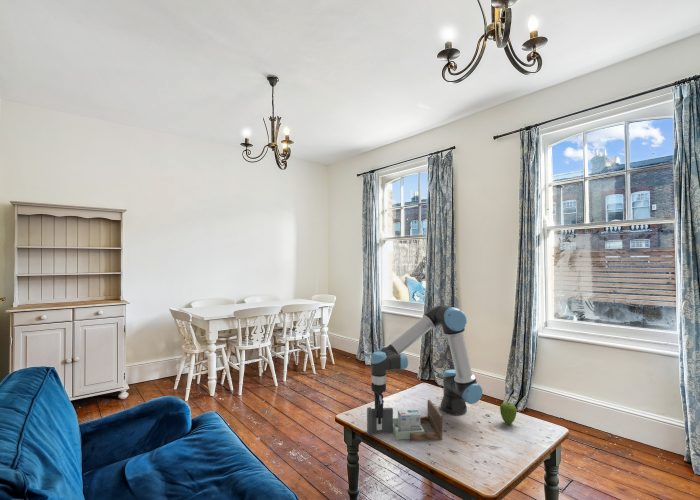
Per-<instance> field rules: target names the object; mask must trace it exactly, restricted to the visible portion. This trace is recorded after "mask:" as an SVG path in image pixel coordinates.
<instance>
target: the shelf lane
mask: <svg viewBox="0 0 700 500" xmlns="http://www.w3.org/2000/svg"><path fill="white" fill-rule="evenodd" d="M438 409H439V408H437V407H436V405H434V403H433V402H432V401H431V400H430V399H427V416H420V424H429V426H430V427H431V429H432V430H433V431H434V432H424V433H413V434H410V439H409V440H410V442H416V441H417V442H419V441H433V440H435V441H436V440H439V441H440V440H443V430H444V429H443V423H444V422H443V417H444V416H443V414H442V413H441V412H440V411H439V410H438Z"/></svg>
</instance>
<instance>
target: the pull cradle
mask: <svg viewBox="0 0 700 500" xmlns="http://www.w3.org/2000/svg"><path fill="white" fill-rule="evenodd" d="M376 416H377V408H375V407H374V408H372V407H369V406H368V407H366V432H367V435H368V436H373V434H390V433H391V434H393V436H394V438H395V440H397V441H398V440H410V434H413V433H425V429H424V428H423V426H422V424H420V431H401V432H399V431H398V429H397V428H396V426H398V417H394V408H393V407H383V418H382V430H377V418H376Z"/></svg>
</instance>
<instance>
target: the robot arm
mask: <svg viewBox="0 0 700 500" xmlns="http://www.w3.org/2000/svg"><path fill="white" fill-rule="evenodd" d="M467 321H468V320H467V316H466V313H464V311H463V310H461V309H459V308H457V307H453V306H448V305H445V304H440V305H439V304H438V305H436V306H434V307H433V308H430V309H429V310H427V312H425V313H424V314H423V315H422V318H420V319H419V320H418V322H416V323H414V325H412V326H411V327H410V328H408V329H407V330H406V331H404V333H402V334H401V335H400V336H398V337H397V338H395V340H394V341H392V342H391V343H390V344H388V345H387V346H382V347H379V349H378V351H374V352H372V354H371V360H370V363H371V365H370V366H371V376H370V377H369V378H370V379H371V388H370V389H371V391H372V392H373V395H374V408H377V416H376V418H377V430H382V418H383V408H384V402H385V401H384V394H383V393H384V392H386V391H387V384H386V383H387V372H388V371H399V370H401V371H402V370H404V369H405V370H406V369H407V368H408V367H409V358H408V357H407V354H404V353H403V352H404V351H406V349H408V348H409V347H410V346H411V345H413V344H414V343H415V342H416V341H418V340H419V339H420V338H421V337H423V336H424V335H425V334H426V333H427V332H428V331H430V330H433V329H435V328H436V327H439V326H441V328H442V332H443V334H444V335H445V336H446V338H447V340H448V345H449V351H450V355H451V358H452V359H451V360H452V364H453V368H454V369H446V370H445V371H443V378H442V379H443V395H442V398H441V401H440V404H439V405H440V407H439V408H440V410H441V411H442V412H444V413H445V414H449V415H452V416H460V415H465V414H466V413H467V412H468V411H467V410H468V409H467V408H468V406H467V404H470V405H474V404H477V403H478V402H479V401H480V400H481V398H482V396H483V388H482V386H481V385H480V384H479V383H478V382H477V378H476V375H475V374H474V373H473V372H472V368H471V364H470V359H469V355H468V351H467V347H466V342H465V337H464V332H465V330H466V325H467ZM402 353H403V354H402ZM466 403H467V404H466Z"/></svg>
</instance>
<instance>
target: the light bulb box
mask: <svg viewBox="0 0 700 500" xmlns="http://www.w3.org/2000/svg"><path fill="white" fill-rule="evenodd" d="M420 417H421V412H419V410H418V409H417V408H413V409H412V408H411V409H397V418H398V425H397V432H401V431H420V425H421V423H420Z"/></svg>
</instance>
